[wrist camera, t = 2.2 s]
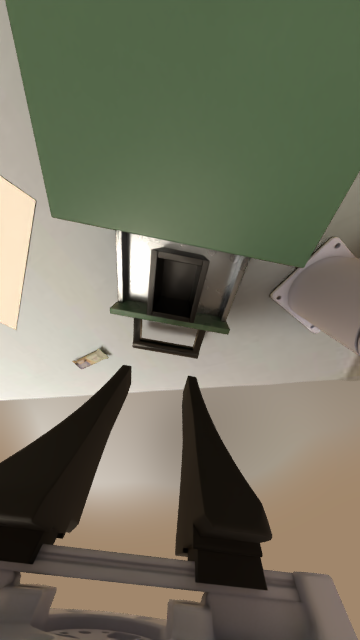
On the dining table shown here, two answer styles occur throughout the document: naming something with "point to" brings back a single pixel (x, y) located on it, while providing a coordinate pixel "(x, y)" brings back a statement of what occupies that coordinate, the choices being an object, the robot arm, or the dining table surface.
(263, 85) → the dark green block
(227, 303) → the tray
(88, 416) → the robot arm
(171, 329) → the dining table surface
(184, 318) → the black tin
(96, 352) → the granola bar
